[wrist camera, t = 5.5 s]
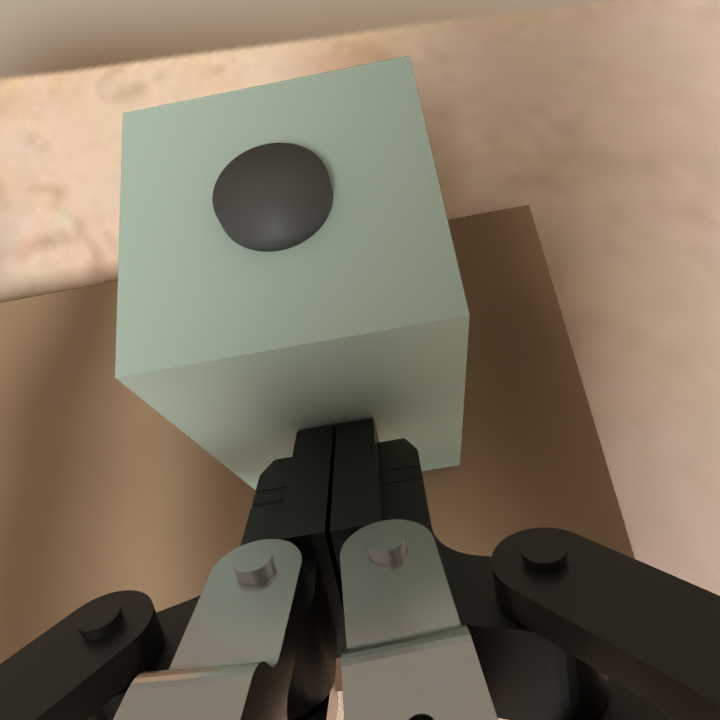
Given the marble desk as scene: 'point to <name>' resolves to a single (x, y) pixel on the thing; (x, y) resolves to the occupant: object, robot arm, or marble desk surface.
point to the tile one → (291, 268)
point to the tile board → (234, 496)
